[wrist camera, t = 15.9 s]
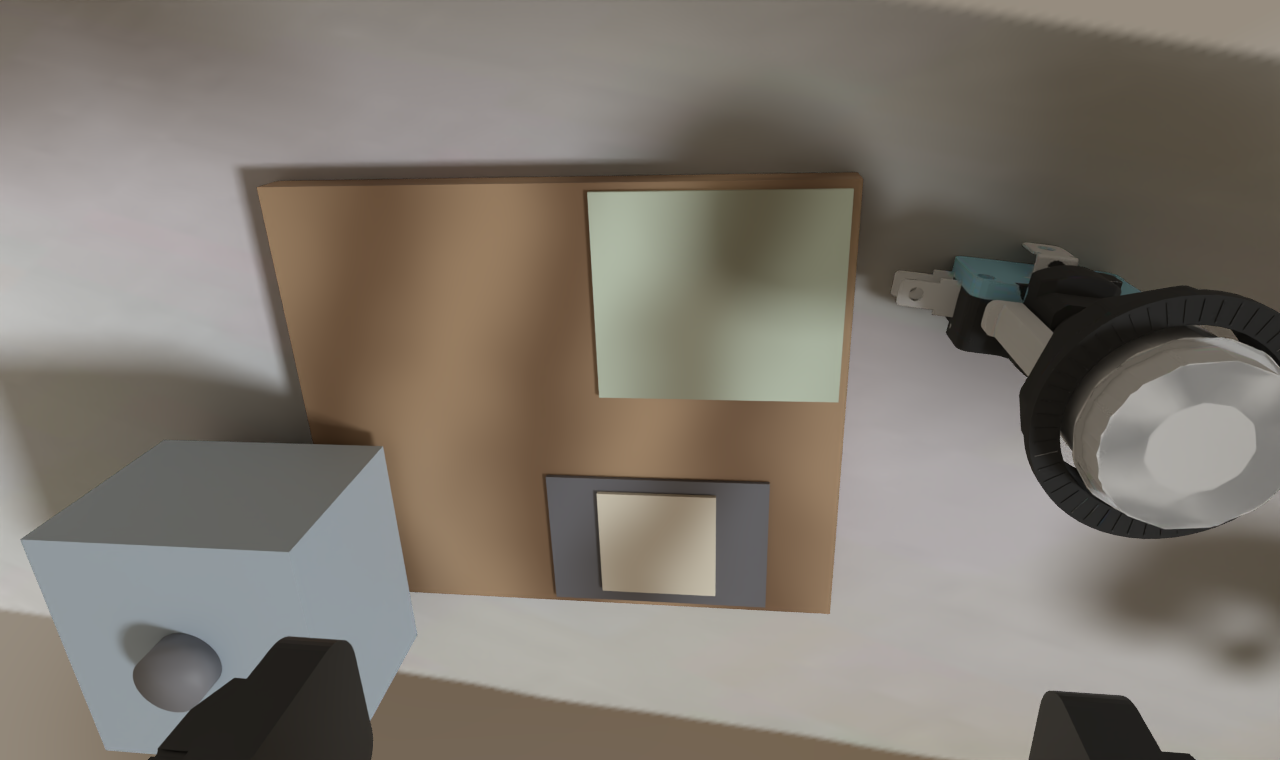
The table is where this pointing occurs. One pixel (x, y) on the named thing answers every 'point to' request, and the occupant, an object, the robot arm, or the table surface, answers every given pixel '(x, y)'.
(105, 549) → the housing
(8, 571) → the table surface
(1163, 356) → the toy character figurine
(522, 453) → the board
